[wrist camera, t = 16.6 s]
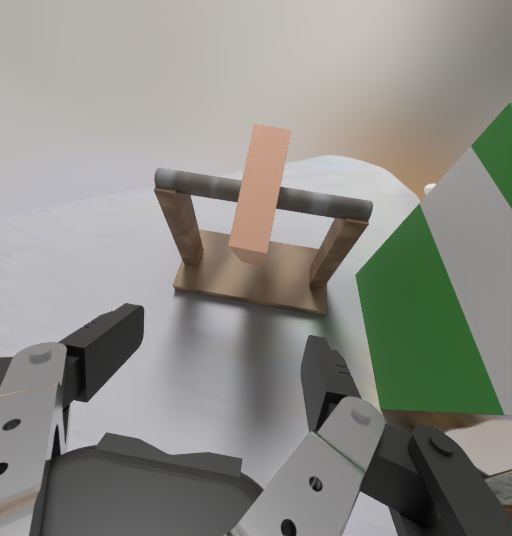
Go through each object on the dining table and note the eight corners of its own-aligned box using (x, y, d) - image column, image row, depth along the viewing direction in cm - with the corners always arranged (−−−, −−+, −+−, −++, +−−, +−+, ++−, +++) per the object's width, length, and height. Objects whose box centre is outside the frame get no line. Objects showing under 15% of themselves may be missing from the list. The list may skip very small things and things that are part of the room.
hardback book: (442, 412, 28) (1040, 440, 7) (380, 409, 28) (805, 428, 7) (403, 277, 37) (618, 112, 16) (355, 274, 36) (509, 103, 16)
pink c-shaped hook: (241, 261, 30) (228, 245, 18) (256, 186, 31) (254, 123, 19) (264, 266, 30) (266, 253, 18) (279, 190, 31) (291, 130, 19)
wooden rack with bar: (174, 289, 34) (128, 208, 20) (195, 233, 39) (169, 137, 25) (323, 315, 33) (383, 250, 19) (324, 254, 38) (373, 169, 24)
